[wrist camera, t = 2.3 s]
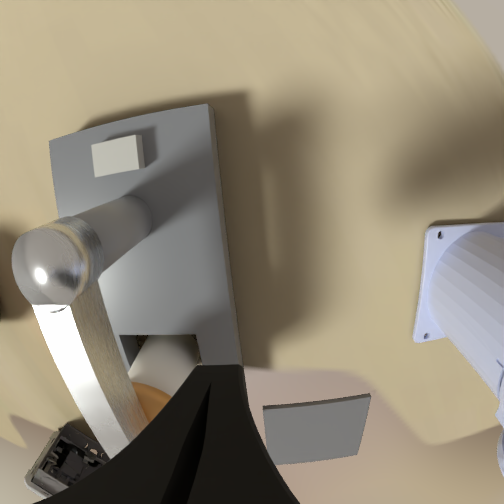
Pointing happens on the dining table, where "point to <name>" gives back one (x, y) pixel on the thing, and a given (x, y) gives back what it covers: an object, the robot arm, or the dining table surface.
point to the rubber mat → (315, 429)
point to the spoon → (79, 325)
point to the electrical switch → (64, 462)
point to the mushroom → (162, 370)
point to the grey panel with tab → (155, 226)
